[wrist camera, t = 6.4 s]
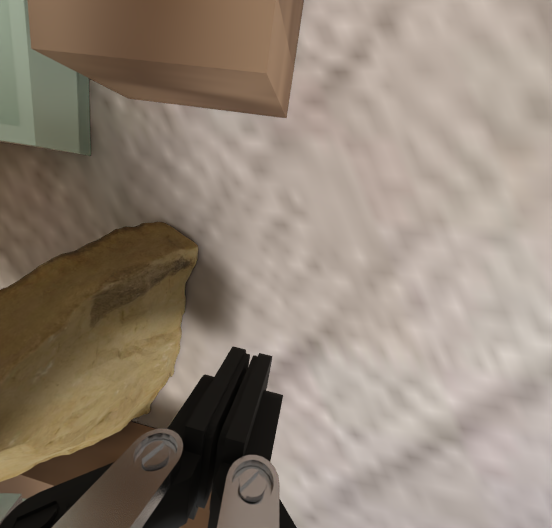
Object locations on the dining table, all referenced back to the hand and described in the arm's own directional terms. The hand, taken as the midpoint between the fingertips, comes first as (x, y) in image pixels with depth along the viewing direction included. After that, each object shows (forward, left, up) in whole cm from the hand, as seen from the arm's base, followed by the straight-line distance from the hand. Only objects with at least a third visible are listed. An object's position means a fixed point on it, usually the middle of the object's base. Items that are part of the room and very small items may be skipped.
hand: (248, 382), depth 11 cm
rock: (+6, 0, -3) cm, 7 cm away
